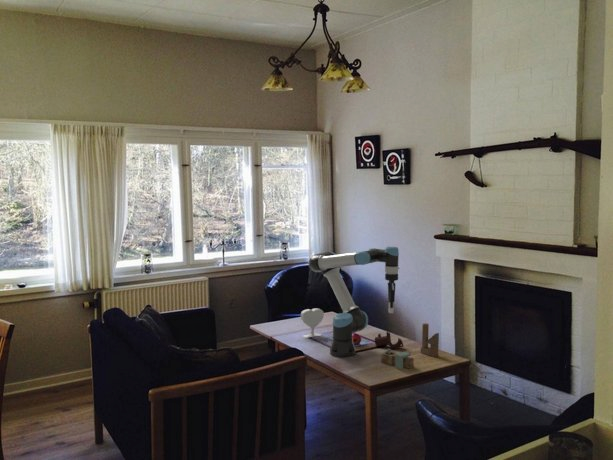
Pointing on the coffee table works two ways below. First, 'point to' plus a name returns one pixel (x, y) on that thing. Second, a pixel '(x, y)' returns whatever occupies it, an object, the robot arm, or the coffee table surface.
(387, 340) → the brown toy figure
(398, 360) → the keeper
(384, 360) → the link
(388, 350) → the pintle
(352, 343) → the robot arm
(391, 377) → the coffee table surface
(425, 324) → the wooden block
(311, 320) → the heart sculpture
